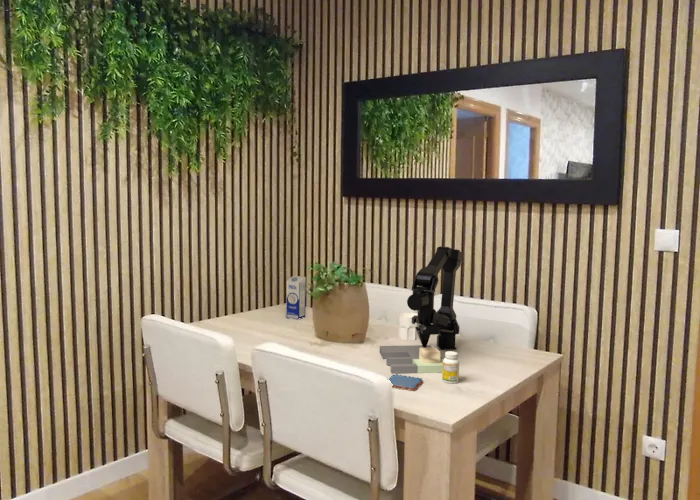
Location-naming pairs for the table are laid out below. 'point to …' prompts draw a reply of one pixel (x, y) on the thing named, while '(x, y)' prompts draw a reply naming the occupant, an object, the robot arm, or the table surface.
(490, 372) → the table surface
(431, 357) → the maple block
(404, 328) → the cup
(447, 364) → the supplement bottle
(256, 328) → the table surface
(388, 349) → the board
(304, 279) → the milk carton
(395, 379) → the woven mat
